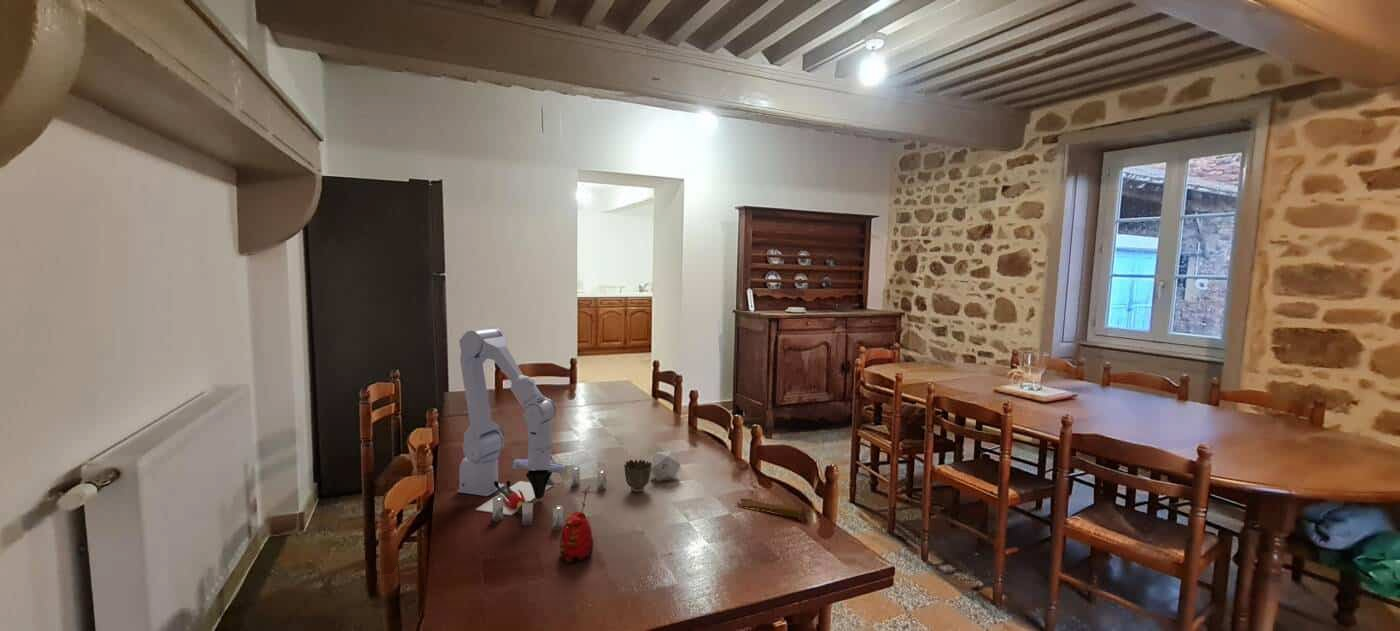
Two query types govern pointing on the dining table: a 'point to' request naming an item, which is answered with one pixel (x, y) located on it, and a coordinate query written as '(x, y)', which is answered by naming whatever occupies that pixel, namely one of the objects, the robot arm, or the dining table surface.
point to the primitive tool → (774, 508)
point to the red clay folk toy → (576, 537)
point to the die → (664, 465)
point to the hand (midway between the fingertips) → (539, 497)
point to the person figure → (512, 497)
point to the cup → (637, 474)
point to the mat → (528, 495)
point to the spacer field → (557, 510)
